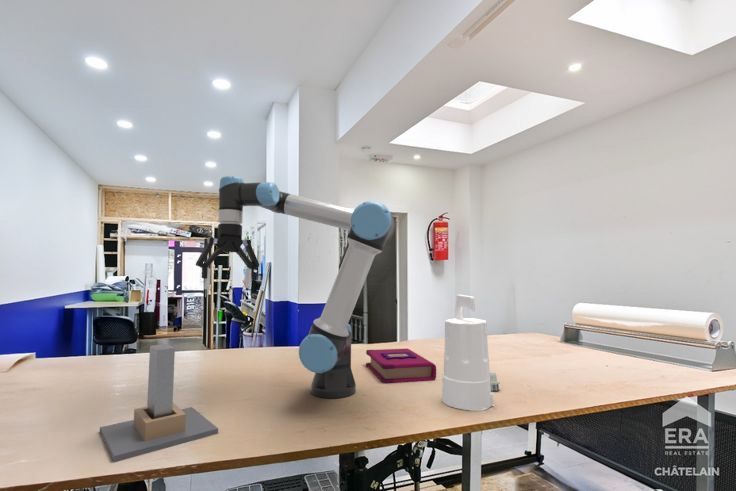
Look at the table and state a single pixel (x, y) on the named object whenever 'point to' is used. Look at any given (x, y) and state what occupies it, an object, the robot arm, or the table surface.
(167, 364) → the grey rectangular post
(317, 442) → the table surface
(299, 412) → the table surface
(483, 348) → the white pump bottle
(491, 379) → the toothbrush head
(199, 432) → the slotted post base
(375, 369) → the book
